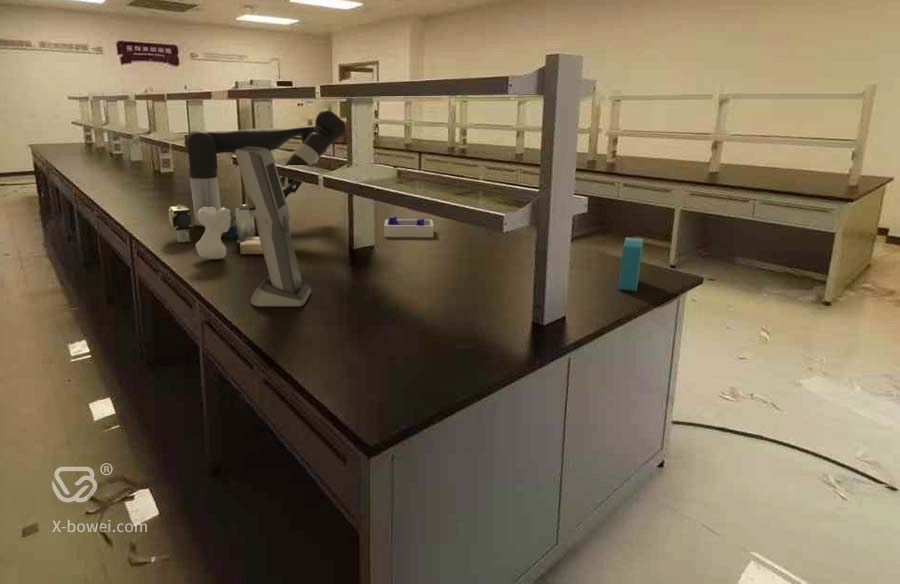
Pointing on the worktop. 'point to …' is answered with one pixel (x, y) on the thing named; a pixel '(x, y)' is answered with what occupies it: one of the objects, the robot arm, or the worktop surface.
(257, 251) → the stand
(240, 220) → the housing
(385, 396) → the worktop surface
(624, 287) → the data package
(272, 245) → the thermal camera
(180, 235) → the pneumatic valve
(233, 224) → the puzzle
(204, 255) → the white lobed block
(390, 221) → the cable clip
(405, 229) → the clip tray
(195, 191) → the robot arm
